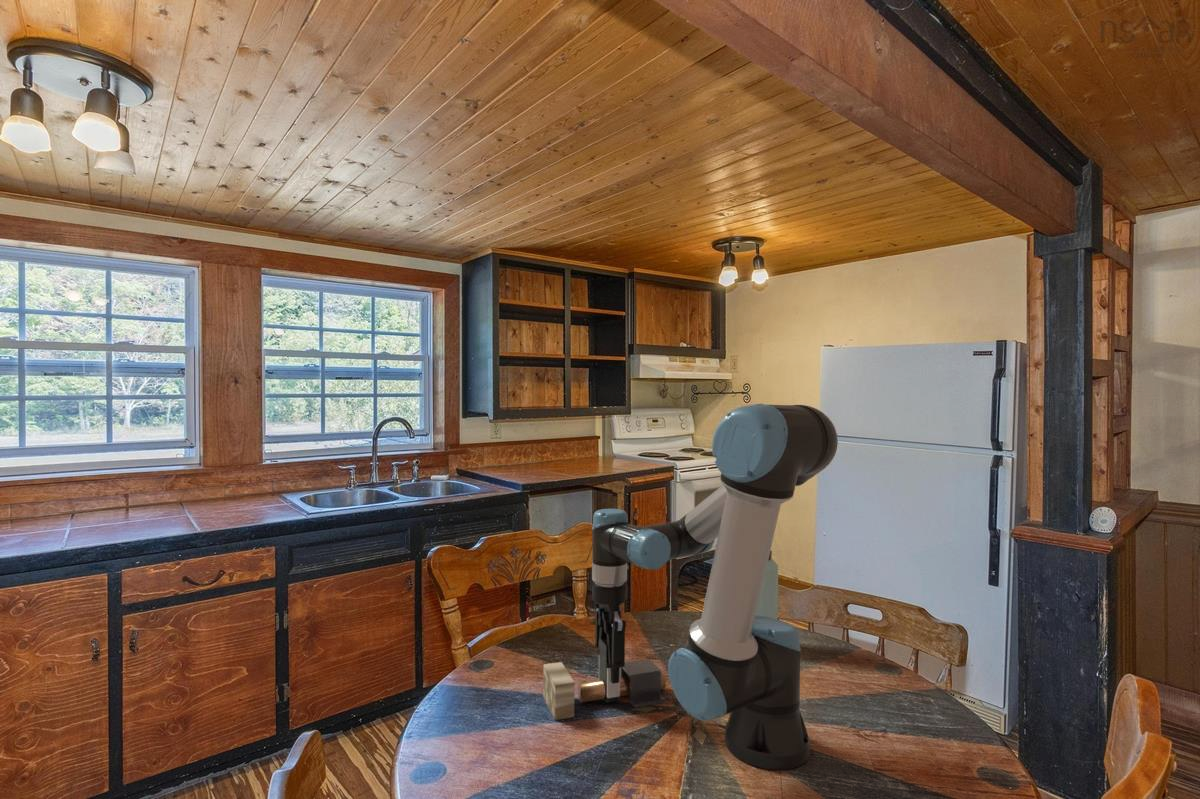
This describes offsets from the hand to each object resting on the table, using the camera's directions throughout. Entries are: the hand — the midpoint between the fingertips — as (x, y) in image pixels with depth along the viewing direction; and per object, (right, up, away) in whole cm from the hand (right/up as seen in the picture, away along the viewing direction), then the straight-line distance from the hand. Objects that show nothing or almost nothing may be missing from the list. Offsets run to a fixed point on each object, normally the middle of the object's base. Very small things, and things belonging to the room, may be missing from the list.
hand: (609, 690), depth 129 cm
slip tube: (+3, -2, +1) cm, 3 cm away
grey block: (+7, -2, +2) cm, 7 cm away
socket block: (-11, -2, -4) cm, 11 cm away
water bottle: (+40, -2, +28) cm, 49 cm away
